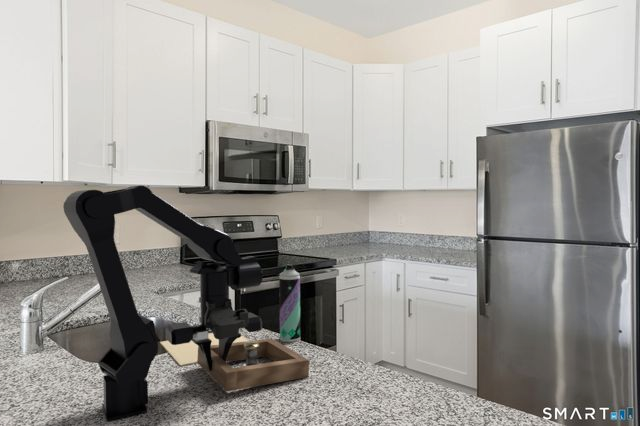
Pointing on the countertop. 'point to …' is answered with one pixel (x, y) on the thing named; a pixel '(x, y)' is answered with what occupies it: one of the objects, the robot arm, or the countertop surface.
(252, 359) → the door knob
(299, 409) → the countertop surface
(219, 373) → the walnut frame
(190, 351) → the cork mat
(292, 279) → the spray can
